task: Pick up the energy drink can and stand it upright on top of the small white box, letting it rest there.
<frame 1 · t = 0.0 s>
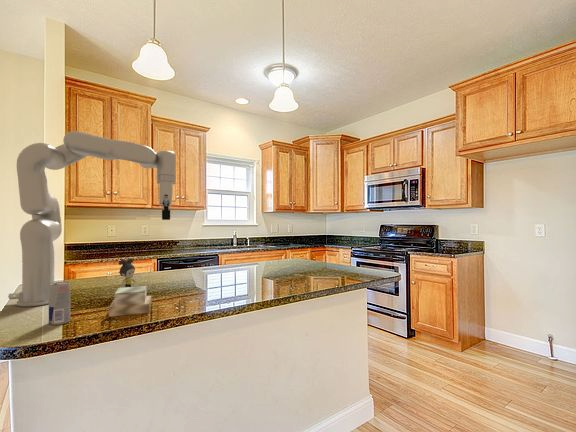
hand: (166, 219, 134), 31 cm above the countertop, tool pointing down, fingers open, 9 cm apart
toy: (127, 296, 129), on the countertop
energy drink: (59, 323, 95), on the countertop
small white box: (131, 309, 109), on the countertop
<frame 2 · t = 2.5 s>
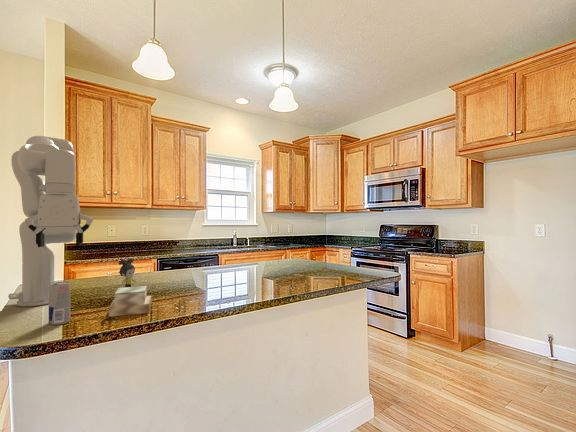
hand: (60, 246, 95), 23 cm above the countertop, tool pointing down, fingers open, 9 cm apart
nothing on the countertop moved.
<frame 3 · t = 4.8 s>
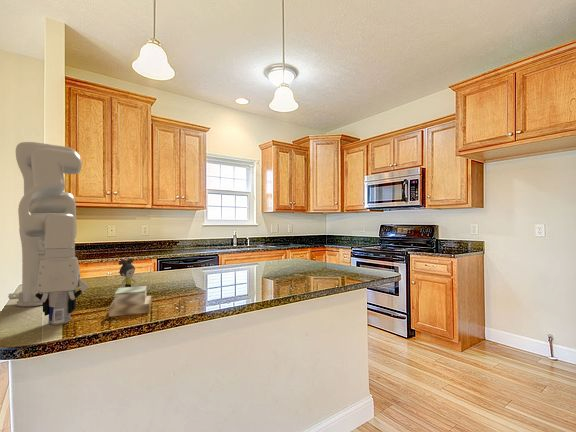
hand: (59, 312, 95), 3 cm above the countertop, tool pointing down, fingers closed on energy drink, 5 cm apart
energy drink: (59, 323, 95), on the countertop, touching gripper
everything else where it was.
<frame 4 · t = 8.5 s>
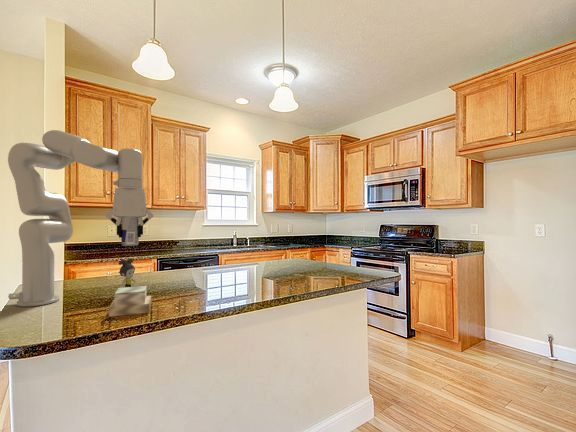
hand: (130, 236, 109), 25 cm above the countertop, tool pointing down, fingers closed on energy drink, 5 cm apart
energy drink: (130, 245, 108), point 22 cm above the countertop, touching gripper
everything else where it was.
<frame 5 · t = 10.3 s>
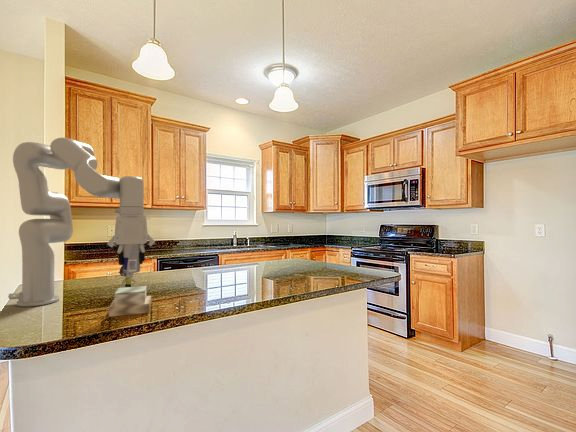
hand: (131, 263, 109), 16 cm above the countertop, tool pointing down, fingers closed on energy drink, 5 cm apart
energy drink: (131, 272, 109), point 13 cm above the countertop, touching gripper
everything else where it was.
when the fingers open (11 cm above the countertop, at t = 12.1 s): energy drink drops 1 cm, resting on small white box.
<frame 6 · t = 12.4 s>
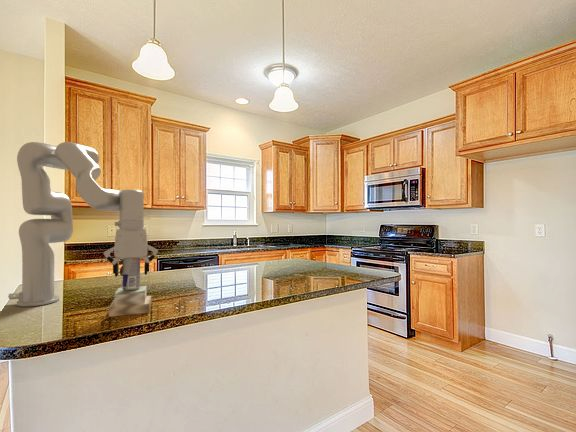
hand: (131, 274, 109), 12 cm above the countertop, tool pointing down, fingers open, 8 cm apart
energy drink: (131, 289, 109), point 7 cm above the countertop, touching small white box
everything else where it was.
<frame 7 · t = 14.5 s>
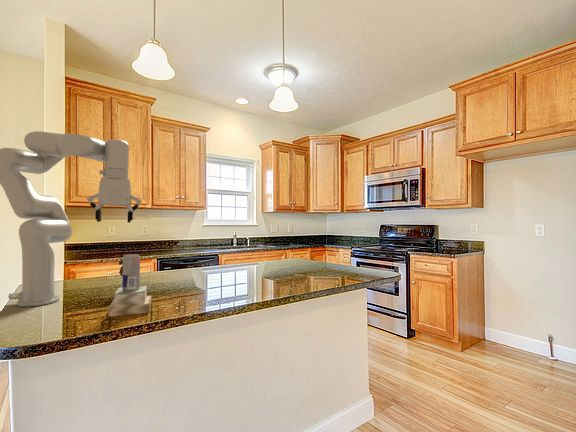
hand: (114, 222, 113), 30 cm above the countertop, tool pointing down, fingers open, 9 cm apart
nothing on the countertop moved.
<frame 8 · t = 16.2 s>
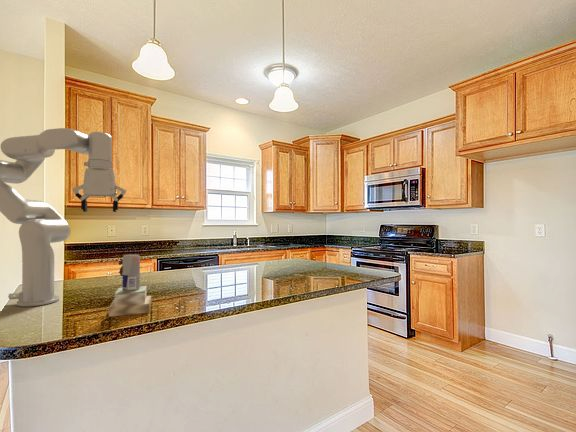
hand: (100, 211, 117), 34 cm above the countertop, tool pointing down, fingers open, 9 cm apart
nothing on the countertop moved.
at the end: energy drink 0.1 cm off-centre on the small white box, point 6.8 cm above the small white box's base; energy drink tilted 0°; the gripper is holding nothing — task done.
